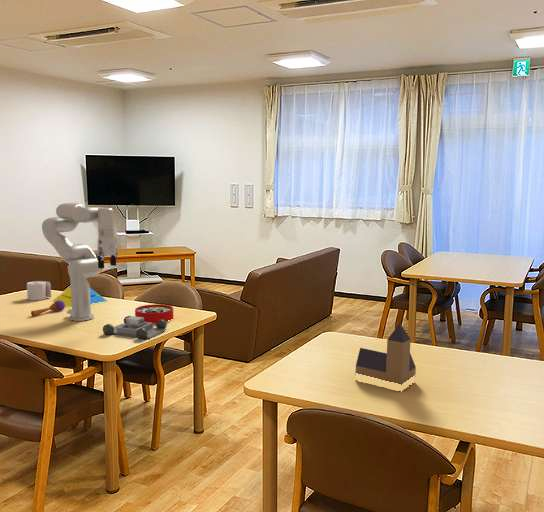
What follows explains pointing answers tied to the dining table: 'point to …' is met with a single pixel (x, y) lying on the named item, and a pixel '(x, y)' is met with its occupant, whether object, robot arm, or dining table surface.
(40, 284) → the toilet tissue
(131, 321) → the engine block
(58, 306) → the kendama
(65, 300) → the pyramid toy
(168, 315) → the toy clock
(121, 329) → the chassis bay
